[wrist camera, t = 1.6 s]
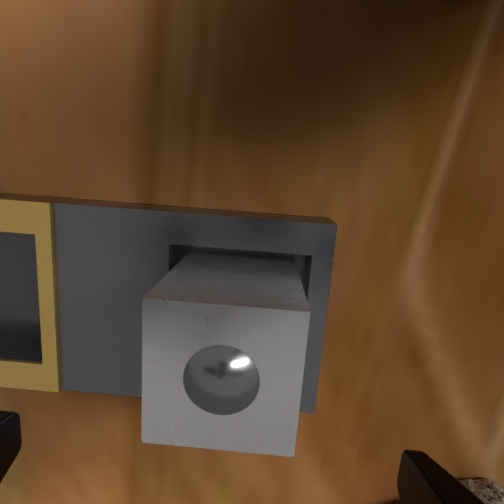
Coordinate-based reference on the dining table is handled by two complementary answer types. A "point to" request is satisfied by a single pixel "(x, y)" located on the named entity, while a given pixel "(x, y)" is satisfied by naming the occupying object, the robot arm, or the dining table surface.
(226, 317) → the square slider block
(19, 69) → the dining table surface
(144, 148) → the dining table surface
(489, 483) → the rock
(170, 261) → the grey socket board
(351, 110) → the dining table surface
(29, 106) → the dining table surface
